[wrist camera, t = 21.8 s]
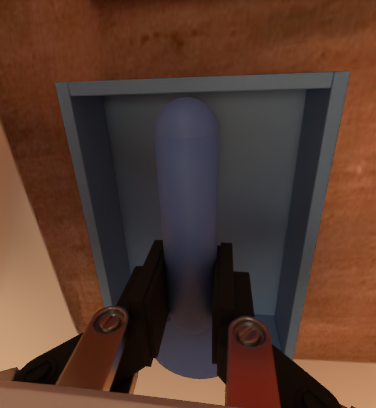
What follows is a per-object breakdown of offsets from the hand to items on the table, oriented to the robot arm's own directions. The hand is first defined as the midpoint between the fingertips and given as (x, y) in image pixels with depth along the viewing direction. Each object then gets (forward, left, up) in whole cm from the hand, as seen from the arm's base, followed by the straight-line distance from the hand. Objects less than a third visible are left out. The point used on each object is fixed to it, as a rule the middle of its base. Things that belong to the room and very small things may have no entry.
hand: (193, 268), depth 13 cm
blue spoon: (0, +1, 0) cm, 1 cm away
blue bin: (0, 0, -6) cm, 6 cm away
